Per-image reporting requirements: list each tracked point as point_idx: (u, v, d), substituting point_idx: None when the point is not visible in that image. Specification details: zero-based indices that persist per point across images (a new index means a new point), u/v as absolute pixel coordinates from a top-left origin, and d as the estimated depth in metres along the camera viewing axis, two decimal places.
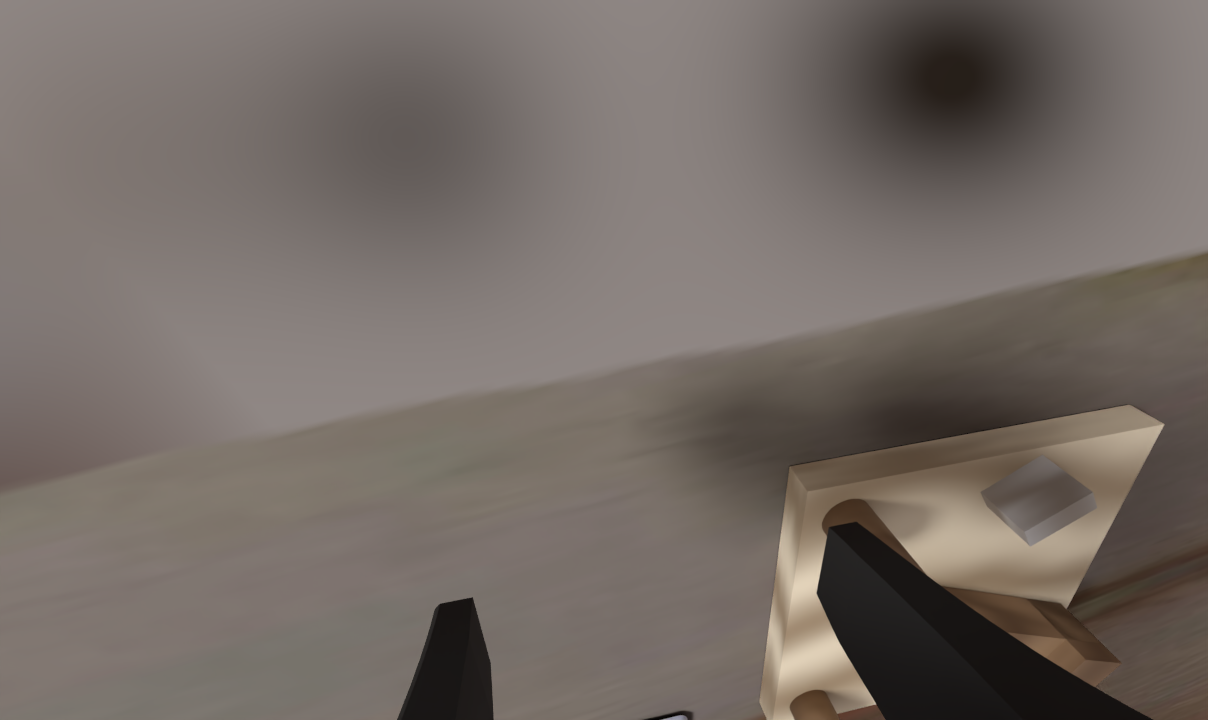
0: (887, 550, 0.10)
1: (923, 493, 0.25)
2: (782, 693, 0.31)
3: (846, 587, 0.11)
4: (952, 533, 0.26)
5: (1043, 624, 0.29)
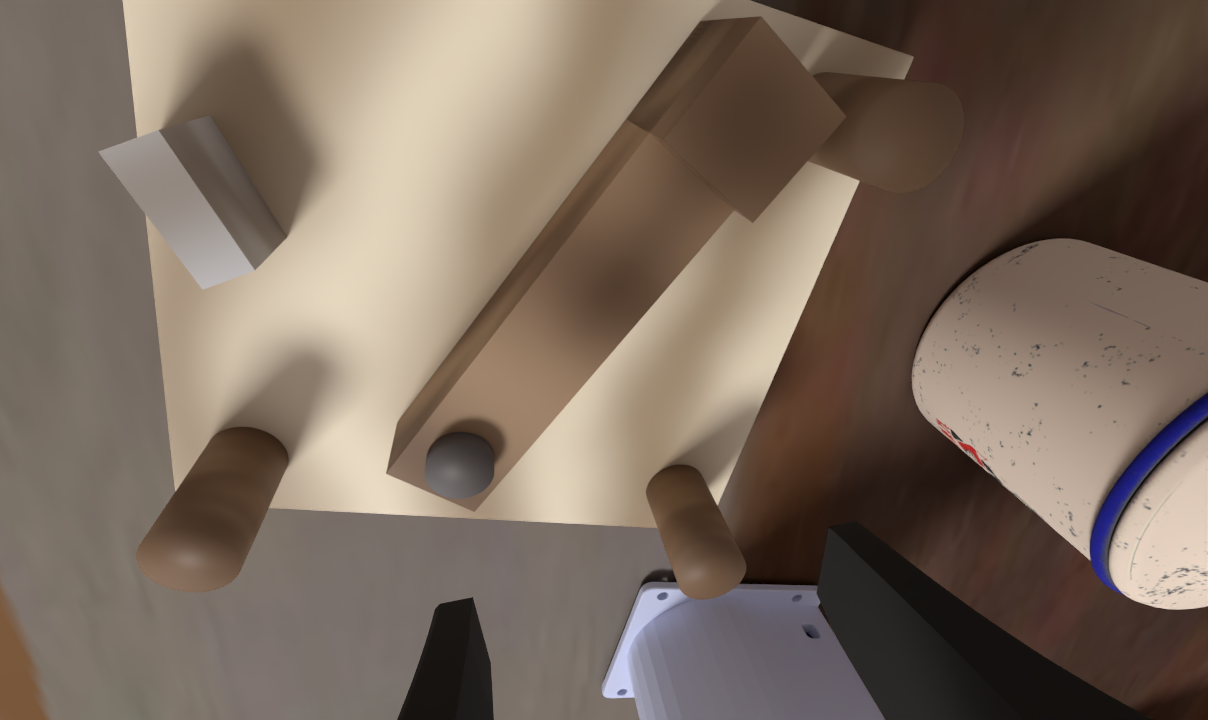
0: (887, 549, 0.10)
1: (220, 352, 0.15)
2: (627, 518, 0.21)
3: (846, 587, 0.11)
4: (343, 295, 0.15)
5: (621, 153, 0.13)
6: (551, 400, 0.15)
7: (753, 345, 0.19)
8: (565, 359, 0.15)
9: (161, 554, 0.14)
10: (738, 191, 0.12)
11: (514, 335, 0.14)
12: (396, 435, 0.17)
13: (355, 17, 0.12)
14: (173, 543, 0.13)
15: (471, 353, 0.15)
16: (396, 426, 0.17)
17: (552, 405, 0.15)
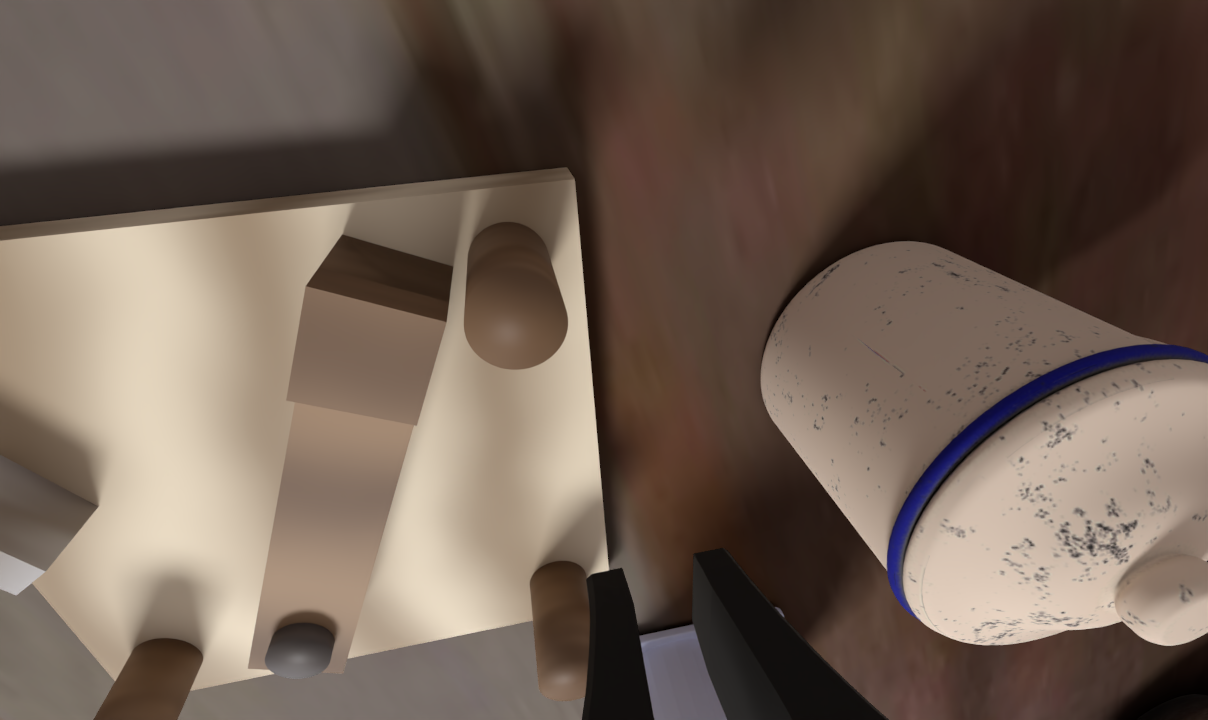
0: (742, 580, 0.10)
1: (99, 596, 0.18)
2: (527, 615, 0.23)
3: (707, 617, 0.11)
4: (169, 531, 0.18)
5: None
6: (353, 581, 0.17)
7: (563, 453, 0.19)
8: (343, 550, 0.16)
9: None
10: (384, 409, 0.13)
11: (287, 548, 0.16)
12: None
13: (50, 343, 0.14)
14: None
15: None
16: None
17: (356, 584, 0.17)
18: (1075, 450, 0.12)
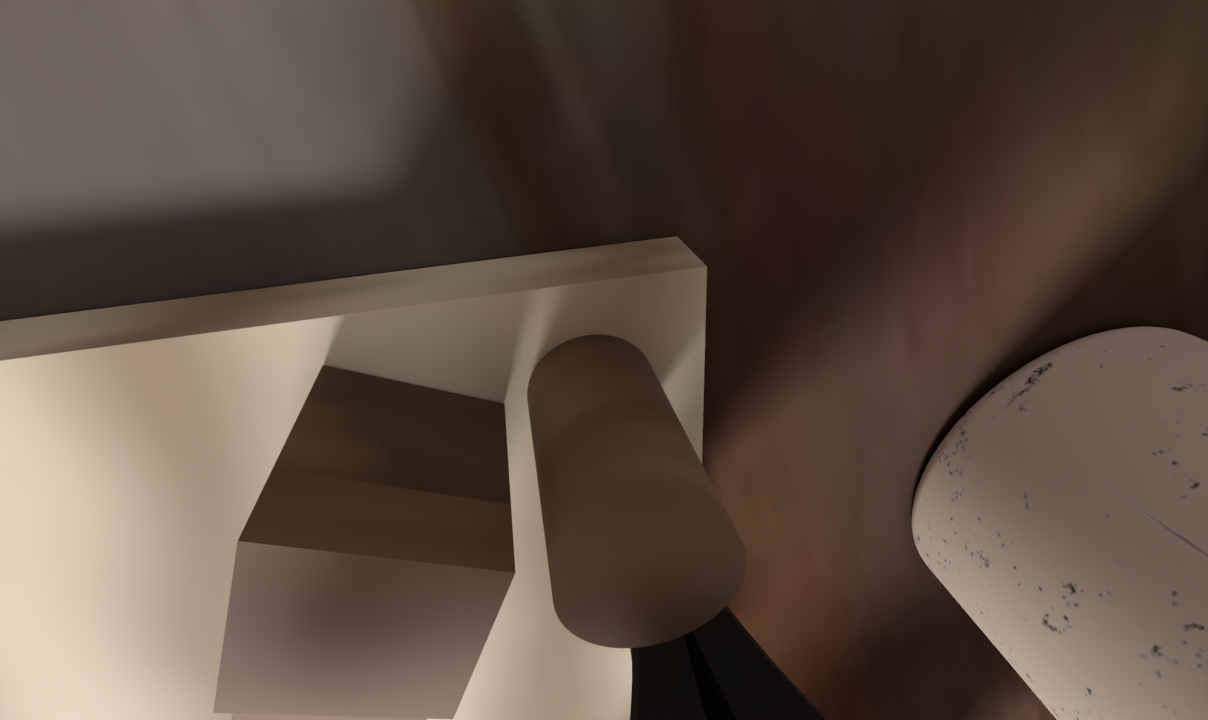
0: None
1: None
2: None
3: None
4: None
5: None
6: None
7: None
8: None
9: None
10: (396, 705, 0.07)
11: None
12: None
13: None
14: None
15: None
16: None
17: None
18: None
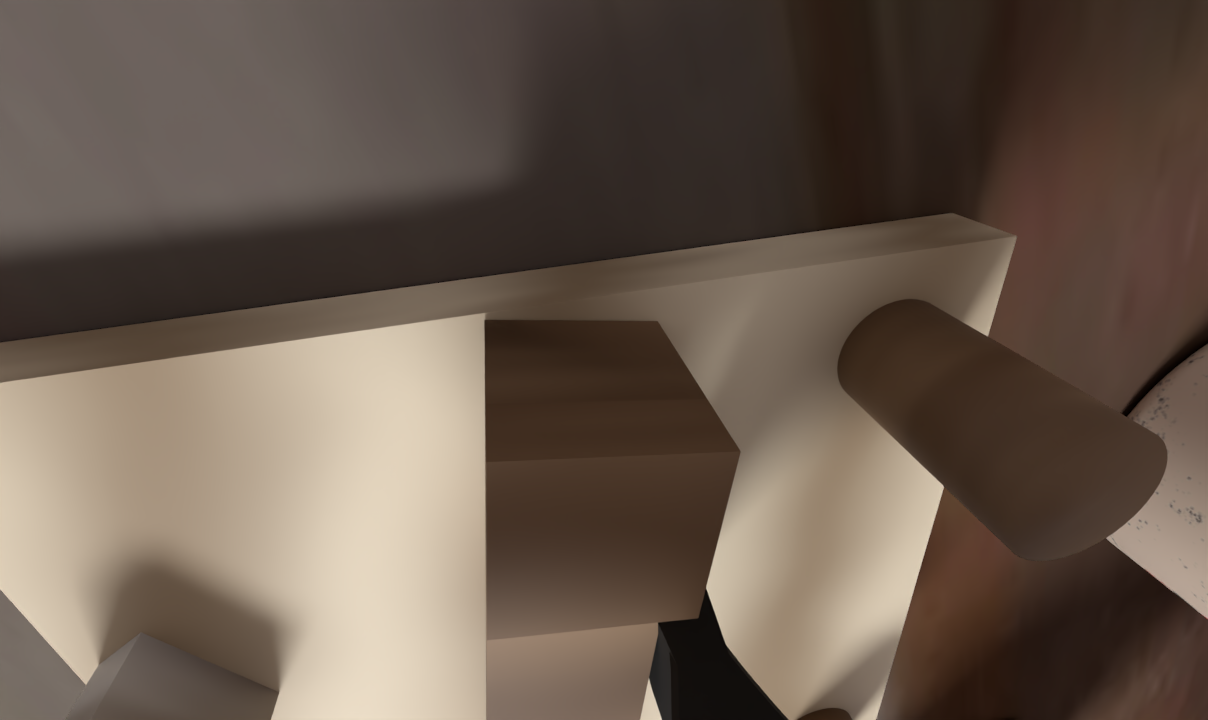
0: None
1: None
2: None
3: None
4: (365, 713, 0.13)
5: None
6: None
7: (872, 588, 0.14)
8: None
9: None
10: (644, 610, 0.07)
11: None
12: None
13: (251, 493, 0.10)
14: None
15: None
16: None
17: None
18: None
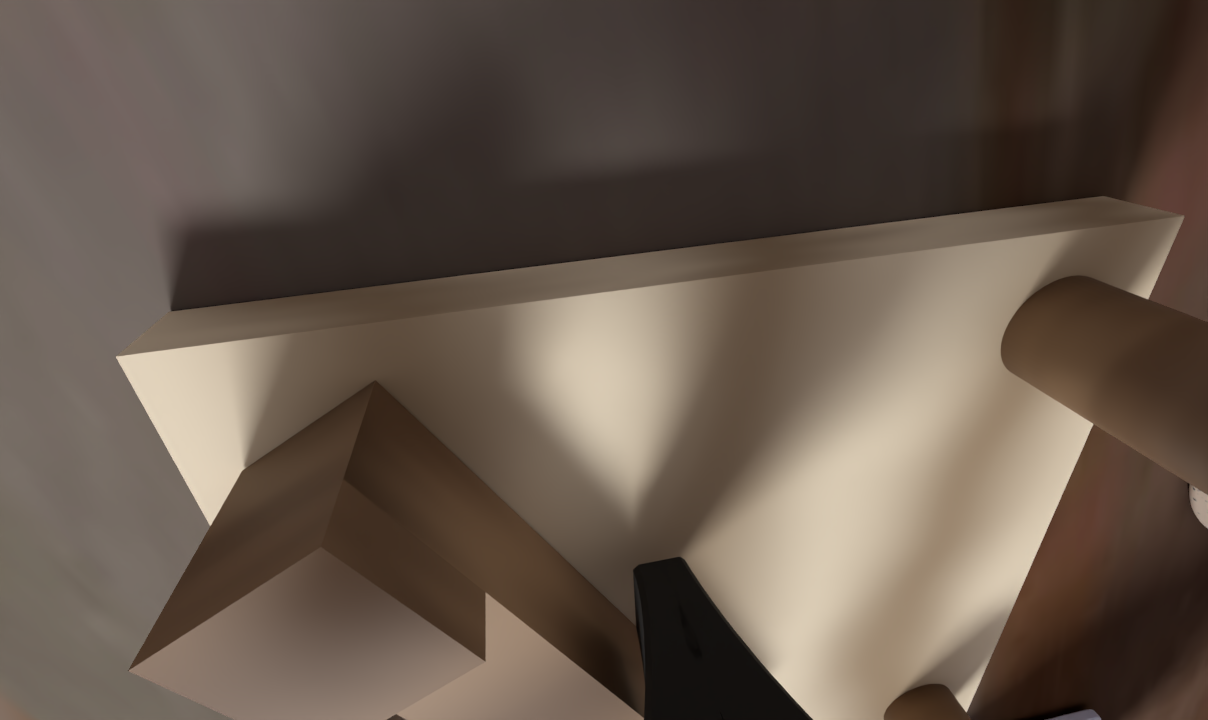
0: (694, 589, 0.10)
1: None
2: None
3: None
4: None
5: None
6: None
7: (994, 563, 0.15)
8: None
9: None
10: (423, 681, 0.07)
11: None
12: None
13: (458, 451, 0.10)
14: None
15: None
16: None
17: None
18: None
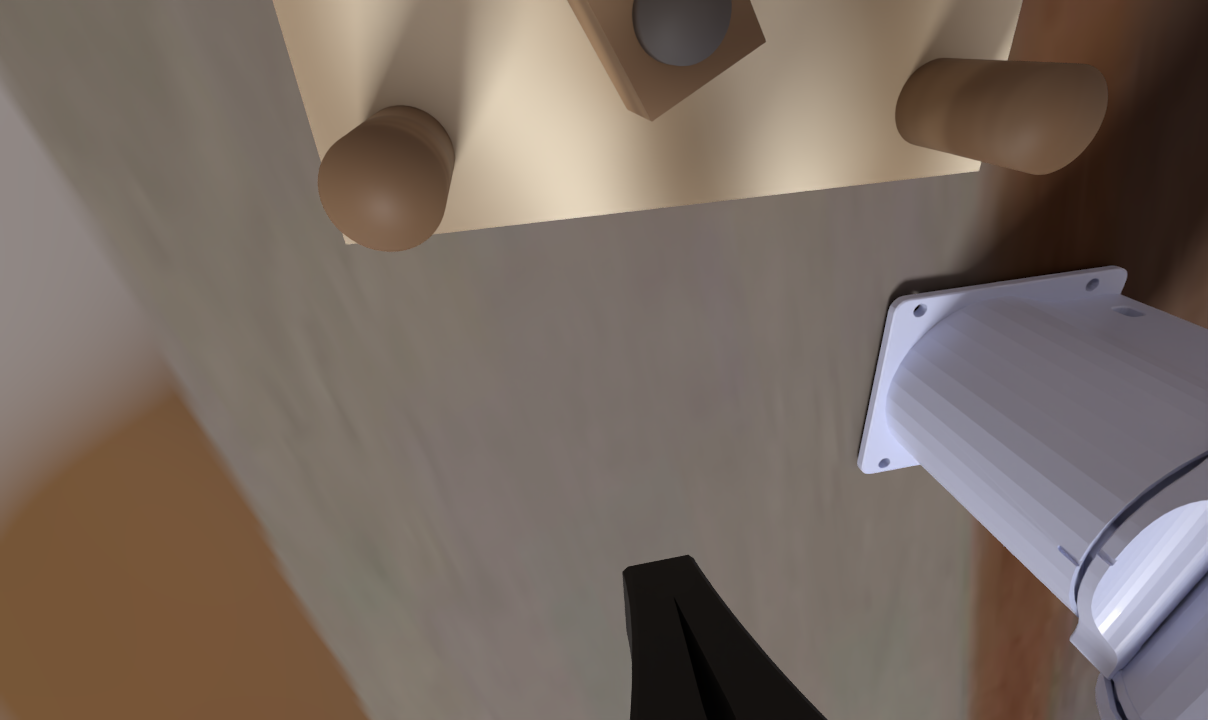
0: (704, 587, 0.10)
1: None
2: (874, 169, 0.16)
3: None
4: None
5: None
6: None
7: None
8: None
9: (348, 185, 0.10)
10: None
11: None
12: (631, 106, 0.13)
13: None
14: (357, 163, 0.10)
15: None
16: (628, 109, 0.14)
17: None
18: None
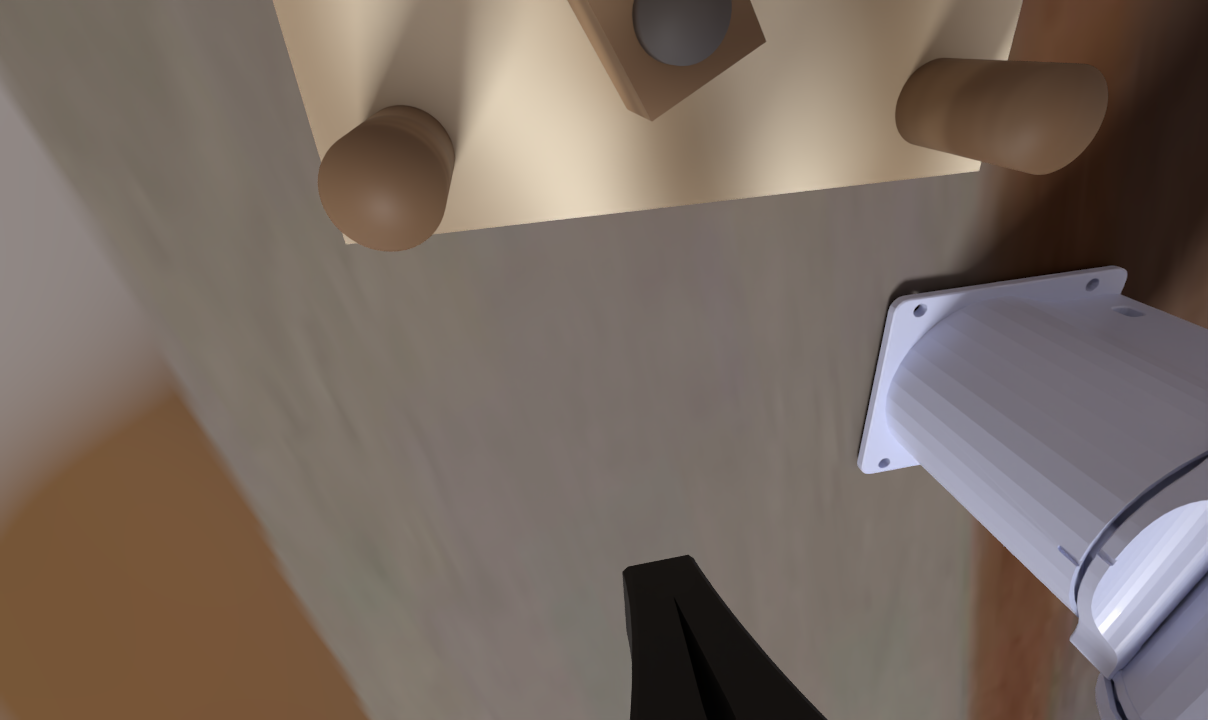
0: (704, 587, 0.10)
1: None
2: (875, 169, 0.16)
3: None
4: None
5: None
6: None
7: None
8: None
9: (348, 184, 0.10)
10: None
11: None
12: (631, 106, 0.13)
13: None
14: (357, 163, 0.10)
15: None
16: (628, 109, 0.14)
17: None
18: None
